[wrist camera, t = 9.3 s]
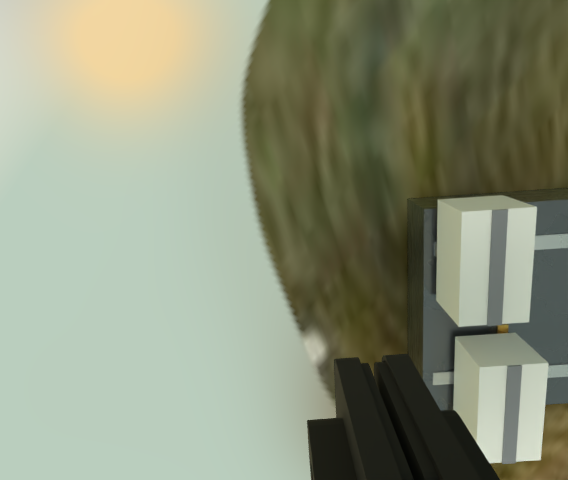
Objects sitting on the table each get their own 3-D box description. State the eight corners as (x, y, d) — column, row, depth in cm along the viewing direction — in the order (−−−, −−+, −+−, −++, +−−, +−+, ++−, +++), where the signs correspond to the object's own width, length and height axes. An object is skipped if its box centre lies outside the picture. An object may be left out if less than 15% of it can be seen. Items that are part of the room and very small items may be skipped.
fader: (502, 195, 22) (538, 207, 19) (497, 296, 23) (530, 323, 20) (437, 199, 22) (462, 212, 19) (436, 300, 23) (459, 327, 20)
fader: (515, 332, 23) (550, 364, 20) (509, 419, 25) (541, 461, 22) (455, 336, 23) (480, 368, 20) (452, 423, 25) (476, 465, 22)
